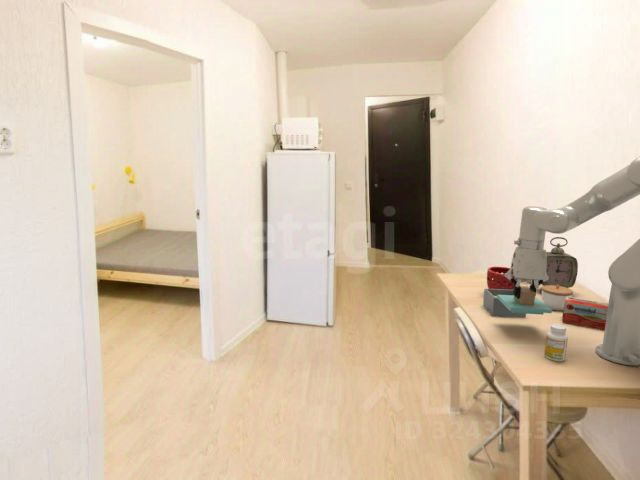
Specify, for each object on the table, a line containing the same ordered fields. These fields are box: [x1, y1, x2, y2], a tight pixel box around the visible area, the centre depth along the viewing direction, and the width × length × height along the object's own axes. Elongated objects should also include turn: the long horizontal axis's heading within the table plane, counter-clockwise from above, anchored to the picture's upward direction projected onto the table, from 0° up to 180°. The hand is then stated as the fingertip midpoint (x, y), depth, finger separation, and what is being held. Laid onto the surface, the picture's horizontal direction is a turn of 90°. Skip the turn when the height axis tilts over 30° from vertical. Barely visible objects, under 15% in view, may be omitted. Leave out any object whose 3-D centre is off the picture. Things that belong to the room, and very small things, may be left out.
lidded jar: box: [541, 285, 574, 311], centre depth 167 cm, size 11×11×9 cm
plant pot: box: [486, 266, 515, 290], centre depth 179 cm, size 13×13×12 cm
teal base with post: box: [497, 285, 553, 316], centre depth 143 cm, size 13×13×7 cm
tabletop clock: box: [539, 236, 579, 294], centre depth 186 cm, size 14×9×25 cm, turn 80°
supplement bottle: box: [544, 323, 569, 362], centre depth 124 cm, size 5×5×10 cm
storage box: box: [482, 288, 527, 318], centre depth 163 cm, size 12×12×7 cm
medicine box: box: [562, 297, 609, 331], centre depth 151 cm, size 15×8×8 cm, turn 58°
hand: (524, 297), depth 143 cm, fingers closed on teal base with post, 4 cm apart
